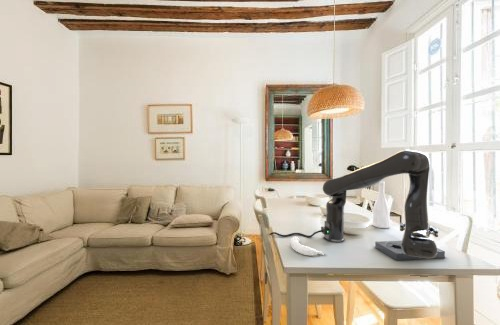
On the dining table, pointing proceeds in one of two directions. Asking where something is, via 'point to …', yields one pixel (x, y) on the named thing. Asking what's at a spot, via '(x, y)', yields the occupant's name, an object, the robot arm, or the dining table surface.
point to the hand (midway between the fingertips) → (418, 225)
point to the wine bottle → (381, 208)
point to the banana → (303, 248)
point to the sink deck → (400, 250)
